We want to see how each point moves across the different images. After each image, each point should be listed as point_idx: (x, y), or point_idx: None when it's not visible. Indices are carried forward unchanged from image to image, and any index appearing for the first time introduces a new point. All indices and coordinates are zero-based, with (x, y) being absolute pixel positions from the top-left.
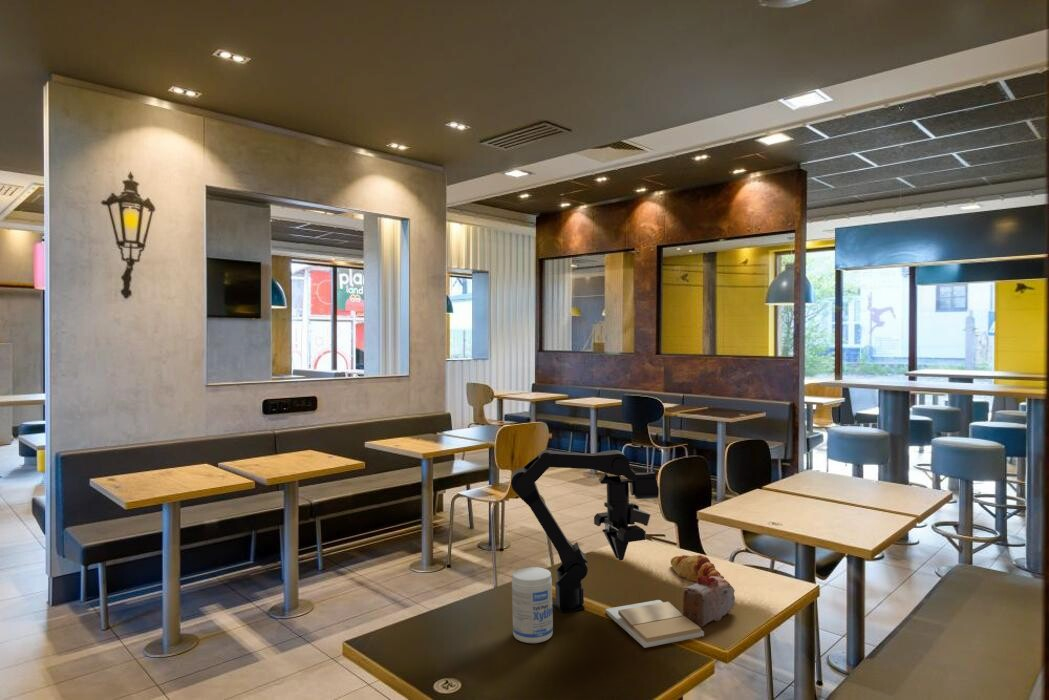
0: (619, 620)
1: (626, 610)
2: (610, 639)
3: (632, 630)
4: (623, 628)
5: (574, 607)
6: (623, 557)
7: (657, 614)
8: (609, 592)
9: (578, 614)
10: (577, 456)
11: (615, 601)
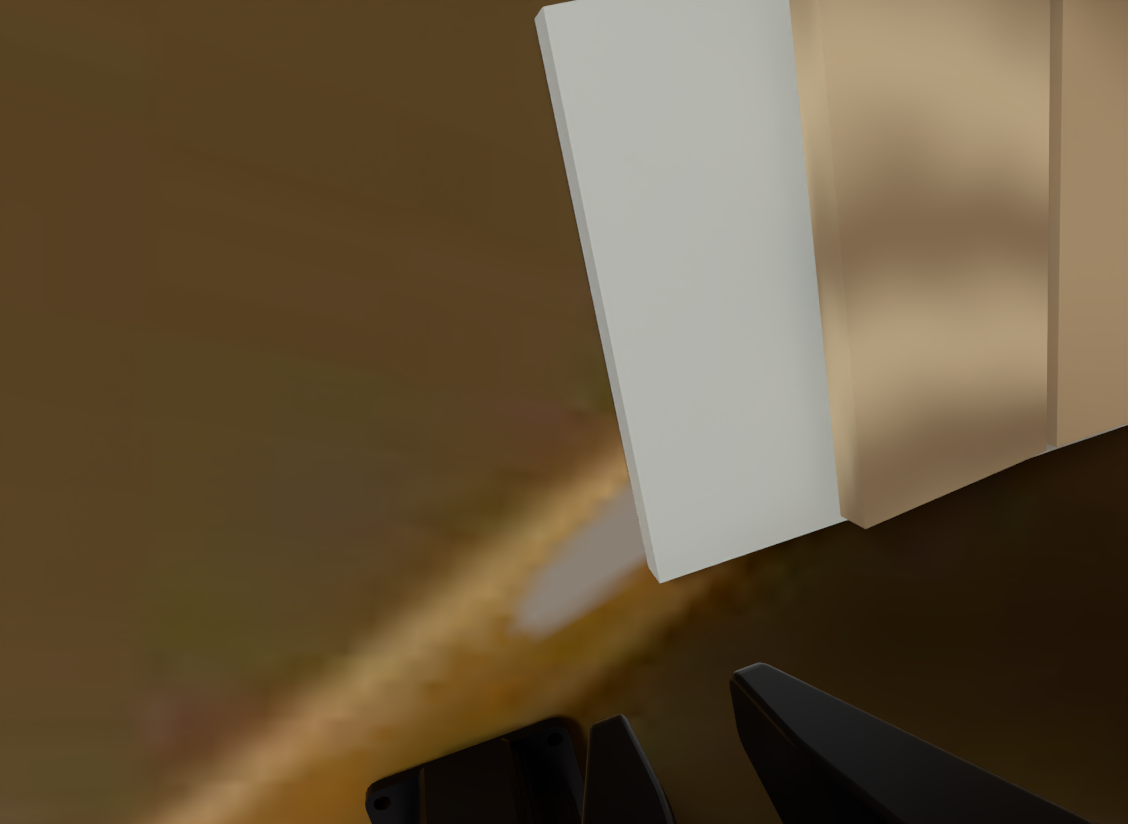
0: None
1: (880, 462)
2: (1013, 574)
3: None
4: None
5: (572, 799)
6: (808, 692)
7: (984, 198)
8: (173, 485)
9: None
10: None
11: (422, 459)
